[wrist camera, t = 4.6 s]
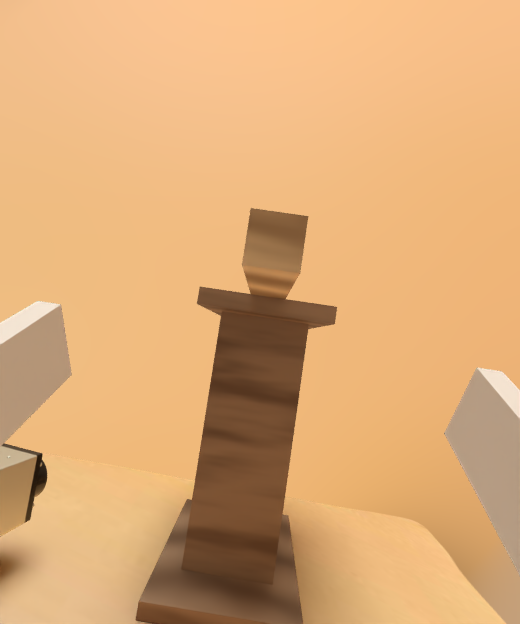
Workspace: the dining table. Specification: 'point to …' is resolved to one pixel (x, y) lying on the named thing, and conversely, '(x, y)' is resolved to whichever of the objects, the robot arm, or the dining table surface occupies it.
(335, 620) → the dining table surface
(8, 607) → the dining table surface
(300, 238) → the brown streaked block
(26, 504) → the pneumatic valve
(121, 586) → the dining table surface
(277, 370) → the shelf stand
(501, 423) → the robot arm
